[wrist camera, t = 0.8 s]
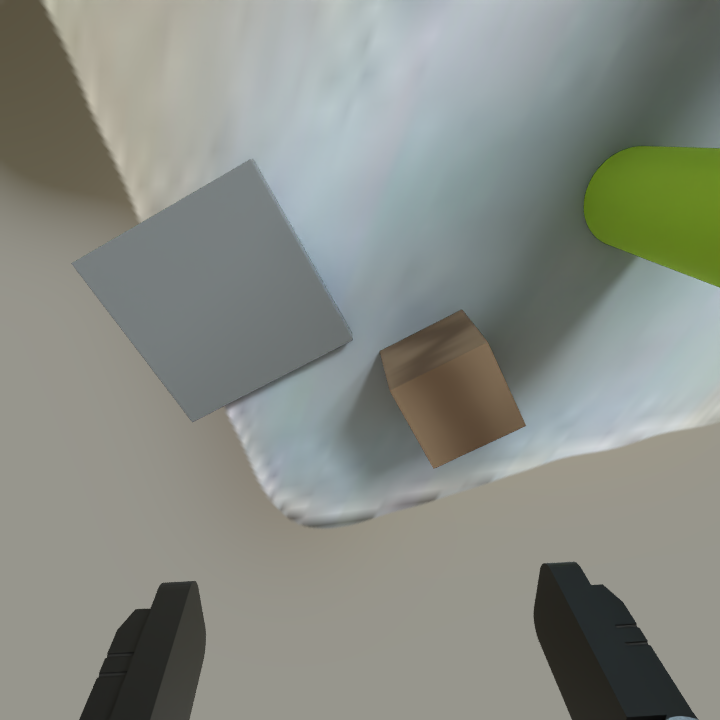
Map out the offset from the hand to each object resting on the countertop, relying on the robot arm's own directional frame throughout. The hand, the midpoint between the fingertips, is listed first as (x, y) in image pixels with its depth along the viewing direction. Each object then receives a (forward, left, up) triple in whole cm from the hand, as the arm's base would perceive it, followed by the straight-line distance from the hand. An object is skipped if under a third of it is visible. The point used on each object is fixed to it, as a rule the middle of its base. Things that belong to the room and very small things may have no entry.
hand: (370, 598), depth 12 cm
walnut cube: (-4, +7, -23) cm, 25 cm away
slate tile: (+6, -4, -23) cm, 24 cm away
